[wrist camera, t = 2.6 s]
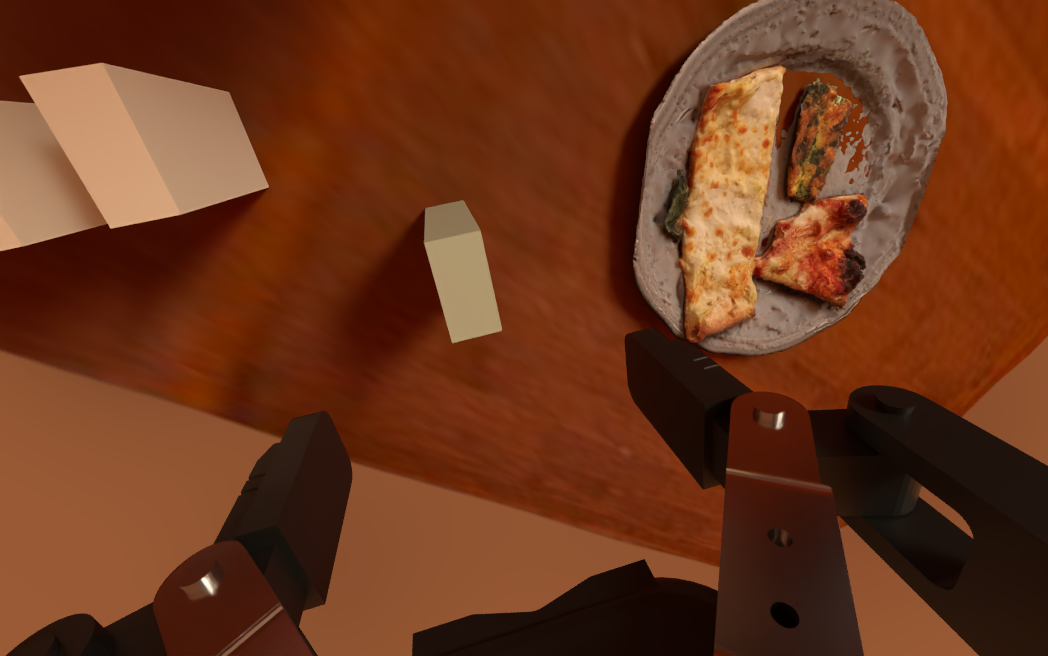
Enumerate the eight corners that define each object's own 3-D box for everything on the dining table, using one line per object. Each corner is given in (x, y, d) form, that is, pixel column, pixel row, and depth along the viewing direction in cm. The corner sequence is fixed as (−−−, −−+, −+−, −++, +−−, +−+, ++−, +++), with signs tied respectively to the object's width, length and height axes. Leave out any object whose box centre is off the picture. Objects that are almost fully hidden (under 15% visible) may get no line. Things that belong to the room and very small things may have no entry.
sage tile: (463, 200, 28) (480, 230, 19) (480, 272, 30) (502, 330, 21) (425, 208, 27) (424, 242, 18) (444, 280, 30) (452, 343, 21)
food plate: (848, 338, 39) (885, 354, 36) (610, 356, 35) (628, 377, 32) (956, 11, 30) (1019, -6, 27) (647, -17, 26) (678, -41, 22)
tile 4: (229, 92, 23) (102, 62, 14) (269, 187, 25) (181, 214, 16) (180, 100, 23) (18, 75, 14) (225, 196, 25) (110, 228, 16)
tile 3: (120, 110, 22) (-86, 93, 13) (170, 206, 25) (22, 246, 16) (68, 119, 22) (-176, 107, 13) (124, 215, 24) (-53, 261, 15)
